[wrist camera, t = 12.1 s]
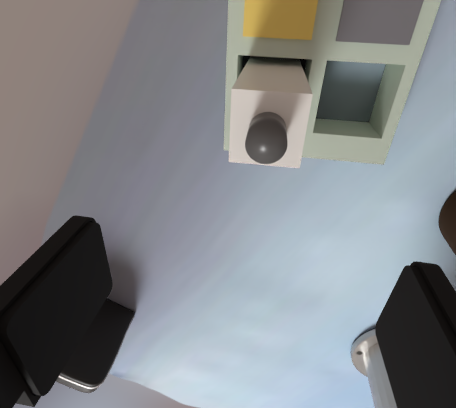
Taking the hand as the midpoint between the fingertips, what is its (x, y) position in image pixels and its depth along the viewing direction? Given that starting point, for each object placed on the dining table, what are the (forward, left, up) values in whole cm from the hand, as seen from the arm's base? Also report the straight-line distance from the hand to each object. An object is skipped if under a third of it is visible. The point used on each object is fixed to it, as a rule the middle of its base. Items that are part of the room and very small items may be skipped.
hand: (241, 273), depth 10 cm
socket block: (-3, -3, -21) cm, 21 cm away
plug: (0, -2, -21) cm, 21 cm away
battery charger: (+20, +33, -21) cm, 44 cm away
